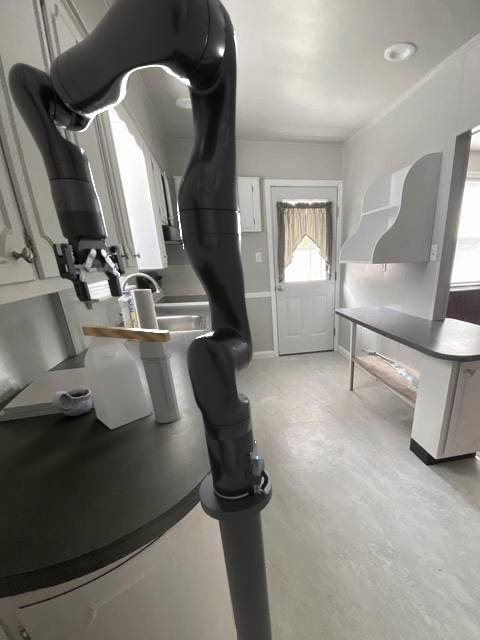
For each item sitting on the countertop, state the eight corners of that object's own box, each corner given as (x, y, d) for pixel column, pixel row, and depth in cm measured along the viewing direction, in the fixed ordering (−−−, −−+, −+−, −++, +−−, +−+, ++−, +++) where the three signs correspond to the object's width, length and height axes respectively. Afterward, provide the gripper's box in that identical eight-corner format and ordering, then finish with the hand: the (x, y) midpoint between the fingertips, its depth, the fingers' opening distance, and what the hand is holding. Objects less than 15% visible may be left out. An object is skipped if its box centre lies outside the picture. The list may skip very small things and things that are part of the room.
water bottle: (150, 419, 94) (132, 340, 84) (175, 410, 99) (160, 335, 89) (162, 430, 88) (144, 346, 78) (188, 420, 92) (173, 340, 83)
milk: (135, 404, 104) (116, 329, 94) (150, 414, 97) (132, 334, 87) (97, 417, 96) (72, 337, 86) (111, 429, 89) (85, 343, 79)
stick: (170, 340, 84) (169, 330, 82) (166, 342, 82) (164, 332, 81) (90, 333, 88) (87, 324, 87) (83, 335, 86) (81, 326, 85)
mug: (101, 405, 104) (93, 378, 100) (84, 423, 93) (74, 393, 89) (70, 408, 103) (61, 381, 99) (50, 426, 92) (38, 396, 88)
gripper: (62, 204, 50) (90, 303, 57) (122, 214, 63) (139, 294, 69) (26, 207, 52) (57, 303, 58) (92, 216, 65) (111, 295, 71)
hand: (102, 298), depth 64 cm, fingers open, 8 cm apart
